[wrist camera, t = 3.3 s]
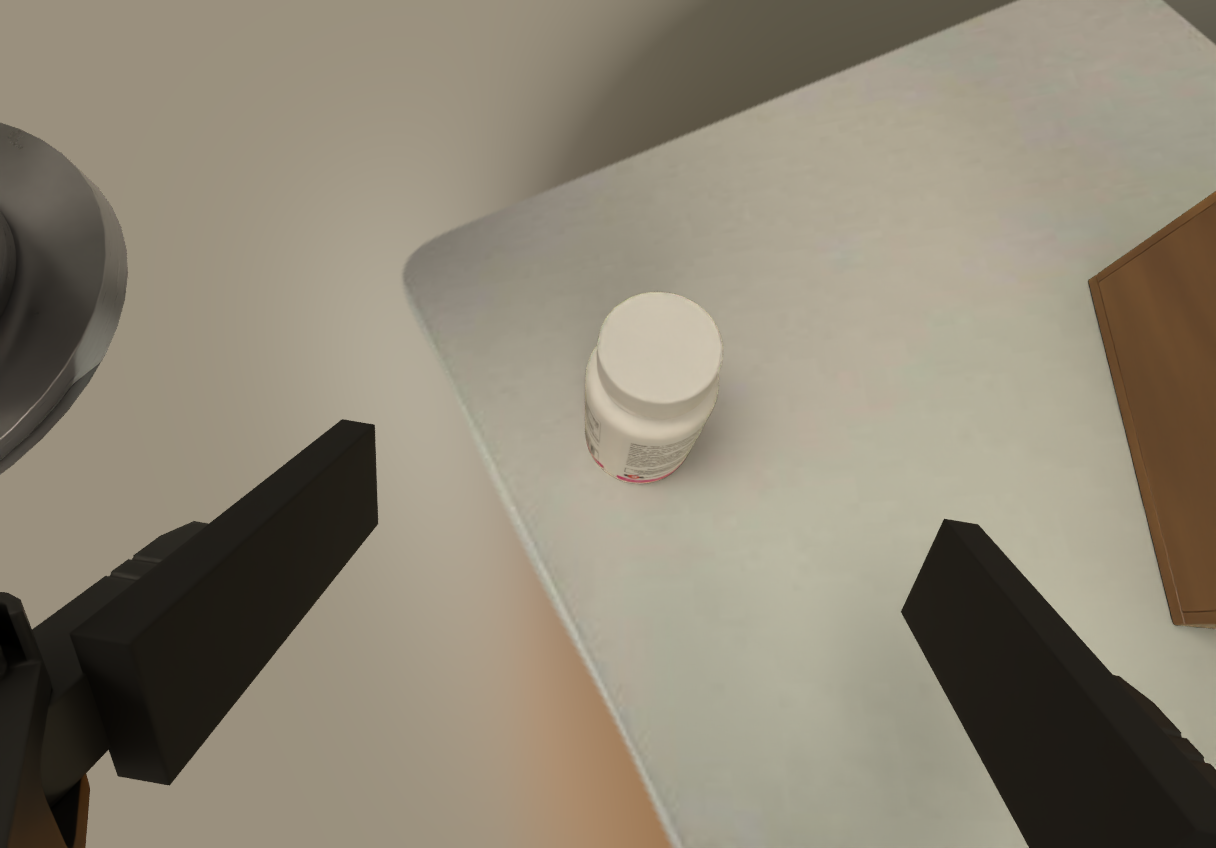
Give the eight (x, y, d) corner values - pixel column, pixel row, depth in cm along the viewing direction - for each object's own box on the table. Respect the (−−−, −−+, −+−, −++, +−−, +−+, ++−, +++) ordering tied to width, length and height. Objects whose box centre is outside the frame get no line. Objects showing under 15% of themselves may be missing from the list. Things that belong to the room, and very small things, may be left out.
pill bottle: (708, 417, 26) (762, 323, 18) (658, 505, 25) (694, 445, 17) (618, 368, 27) (633, 257, 19) (564, 451, 25) (555, 368, 17)
